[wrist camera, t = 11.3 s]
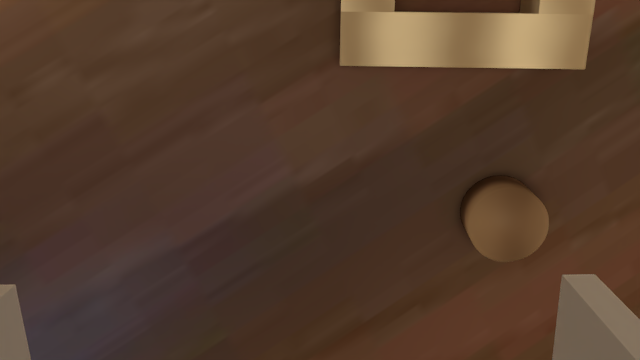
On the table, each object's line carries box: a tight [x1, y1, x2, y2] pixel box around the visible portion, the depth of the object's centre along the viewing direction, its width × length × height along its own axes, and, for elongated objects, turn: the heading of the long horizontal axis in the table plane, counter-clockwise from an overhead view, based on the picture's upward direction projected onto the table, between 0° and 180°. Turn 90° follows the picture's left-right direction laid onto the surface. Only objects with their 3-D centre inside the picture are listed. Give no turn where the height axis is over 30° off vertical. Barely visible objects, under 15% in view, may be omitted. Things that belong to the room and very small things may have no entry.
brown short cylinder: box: [460, 176, 549, 262], centre depth 37 cm, size 5×5×3 cm
